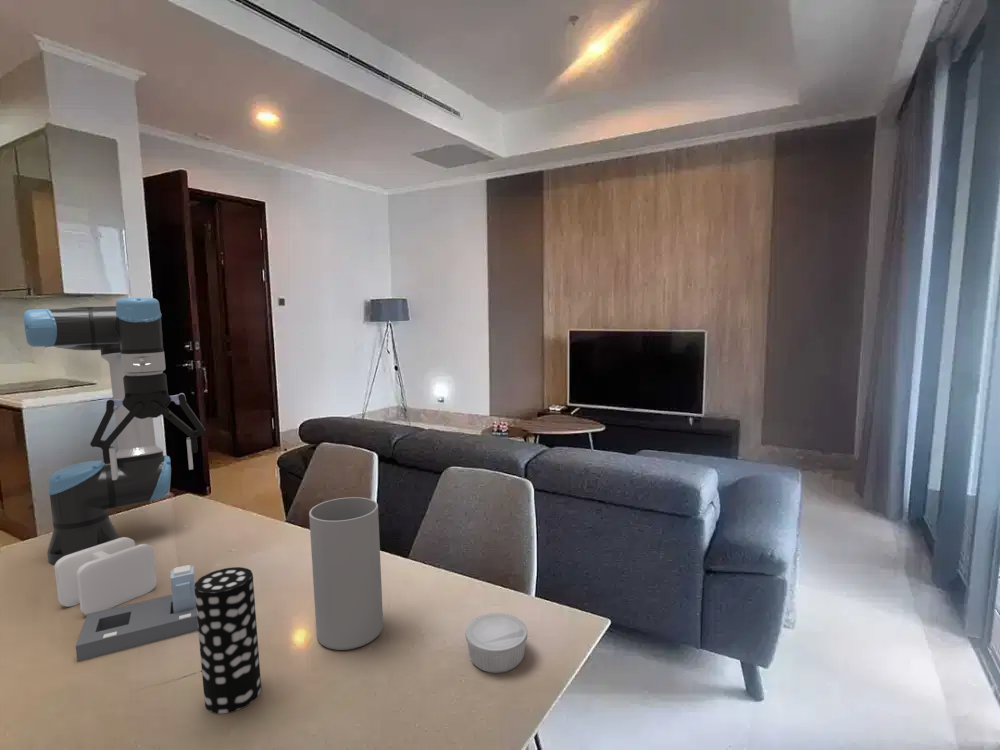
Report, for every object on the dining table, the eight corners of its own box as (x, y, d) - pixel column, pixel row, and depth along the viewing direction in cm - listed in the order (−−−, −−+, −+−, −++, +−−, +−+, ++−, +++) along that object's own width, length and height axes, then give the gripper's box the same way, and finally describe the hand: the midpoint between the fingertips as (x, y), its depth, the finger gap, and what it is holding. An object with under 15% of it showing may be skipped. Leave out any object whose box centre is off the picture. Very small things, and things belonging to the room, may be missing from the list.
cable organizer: (80, 624, 111) (73, 569, 110) (58, 609, 117) (51, 557, 115) (158, 591, 124) (153, 542, 122) (135, 579, 129) (130, 532, 128)
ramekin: (507, 686, 91) (506, 657, 90) (453, 664, 97) (452, 636, 96) (538, 650, 100) (538, 623, 100) (487, 632, 106) (487, 606, 106)
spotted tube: (218, 679, 94) (208, 568, 91) (268, 676, 94) (260, 565, 92) (195, 715, 85) (184, 594, 83) (250, 711, 86) (241, 591, 84)
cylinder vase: (395, 620, 111) (390, 500, 108) (360, 657, 99) (353, 524, 96) (342, 610, 115) (336, 494, 112) (302, 644, 103) (294, 517, 100)
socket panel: (89, 630, 109) (87, 613, 108) (213, 600, 119) (212, 584, 119) (77, 664, 98) (75, 645, 98) (215, 628, 109) (214, 610, 108)
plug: (175, 616, 112) (170, 567, 111) (197, 611, 114) (193, 562, 113) (174, 628, 108) (169, 577, 107) (197, 622, 110) (193, 572, 109)
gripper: (65, 379, 104) (77, 488, 107) (213, 370, 116) (221, 468, 119) (72, 375, 111) (84, 477, 113) (212, 367, 122) (219, 460, 125)
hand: (154, 473), depth 116 cm, fingers open, 13 cm apart
